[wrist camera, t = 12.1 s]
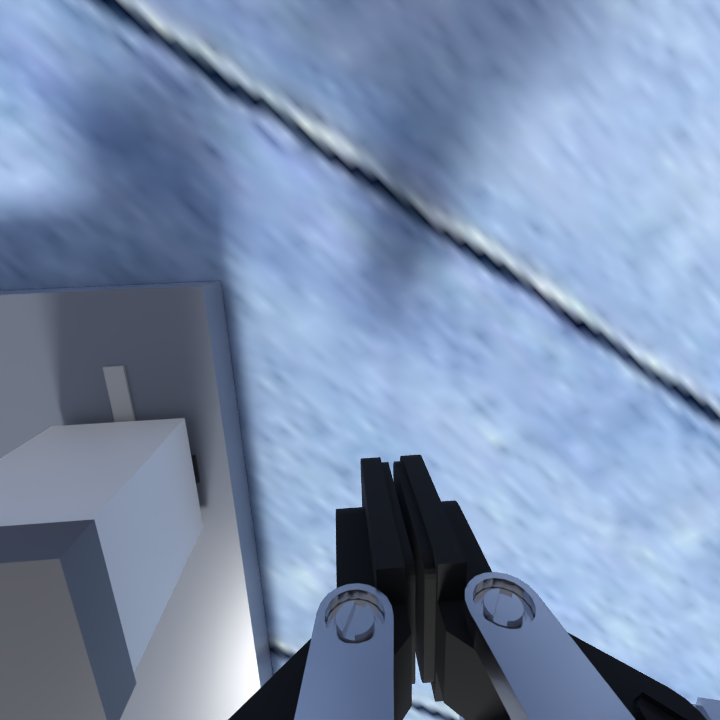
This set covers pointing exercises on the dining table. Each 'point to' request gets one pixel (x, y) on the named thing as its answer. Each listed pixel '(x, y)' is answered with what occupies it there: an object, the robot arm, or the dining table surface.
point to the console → (208, 452)
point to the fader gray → (89, 561)
